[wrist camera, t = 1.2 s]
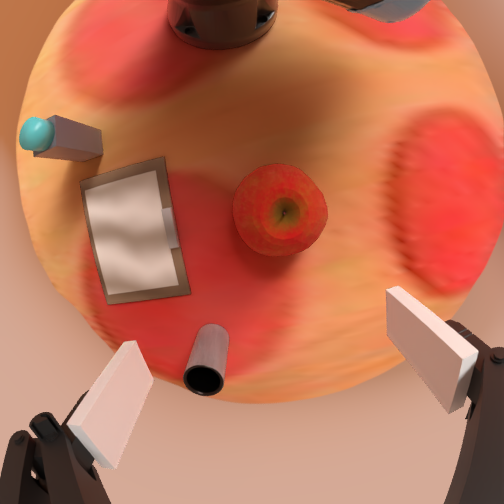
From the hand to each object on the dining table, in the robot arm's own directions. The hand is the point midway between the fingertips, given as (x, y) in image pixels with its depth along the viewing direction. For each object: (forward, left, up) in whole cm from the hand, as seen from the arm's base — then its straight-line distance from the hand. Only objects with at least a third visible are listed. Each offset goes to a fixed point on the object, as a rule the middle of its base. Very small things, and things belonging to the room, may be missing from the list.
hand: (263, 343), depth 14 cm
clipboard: (-5, -16, -23) cm, 28 cm away
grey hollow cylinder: (+11, -8, -23) cm, 27 cm away
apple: (-5, +3, -23) cm, 24 cm away
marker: (-18, -20, -23) cm, 35 cm away
